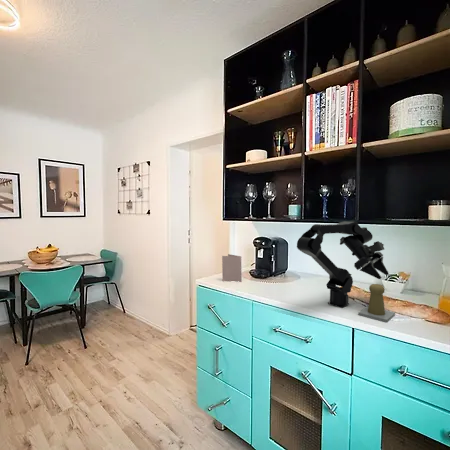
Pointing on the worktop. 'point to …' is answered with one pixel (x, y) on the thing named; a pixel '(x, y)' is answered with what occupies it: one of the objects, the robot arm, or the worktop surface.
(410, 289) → the worktop surface
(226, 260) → the greeting card
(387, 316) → the plate
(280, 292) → the worktop surface
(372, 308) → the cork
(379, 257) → the robot arm
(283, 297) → the worktop surface
